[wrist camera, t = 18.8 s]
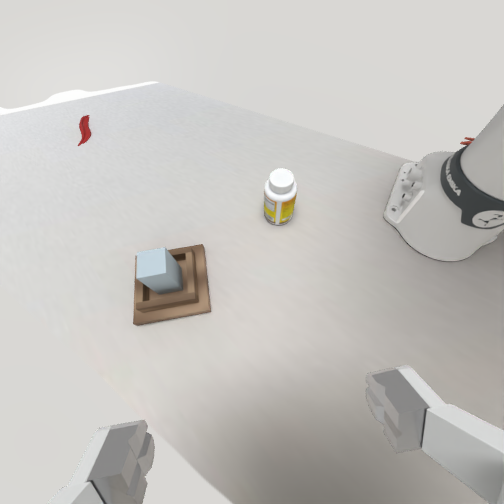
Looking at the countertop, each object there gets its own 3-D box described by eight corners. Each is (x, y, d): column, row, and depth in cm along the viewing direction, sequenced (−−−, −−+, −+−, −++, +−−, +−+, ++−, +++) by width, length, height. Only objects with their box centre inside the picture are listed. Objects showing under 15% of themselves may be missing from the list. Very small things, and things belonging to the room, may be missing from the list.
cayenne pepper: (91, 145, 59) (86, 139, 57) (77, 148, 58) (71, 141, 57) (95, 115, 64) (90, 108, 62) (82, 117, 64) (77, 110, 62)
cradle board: (139, 259, 44) (128, 249, 41) (204, 247, 45) (199, 237, 41) (137, 325, 39) (125, 321, 36) (210, 311, 40) (205, 306, 36)
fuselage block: (158, 272, 41) (136, 252, 34) (181, 268, 42) (165, 247, 34) (159, 294, 40) (136, 278, 33) (183, 290, 40) (166, 272, 33)
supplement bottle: (294, 205, 48) (301, 166, 39) (289, 228, 46) (296, 193, 37) (266, 200, 49) (268, 162, 40) (261, 223, 47) (261, 188, 38)
